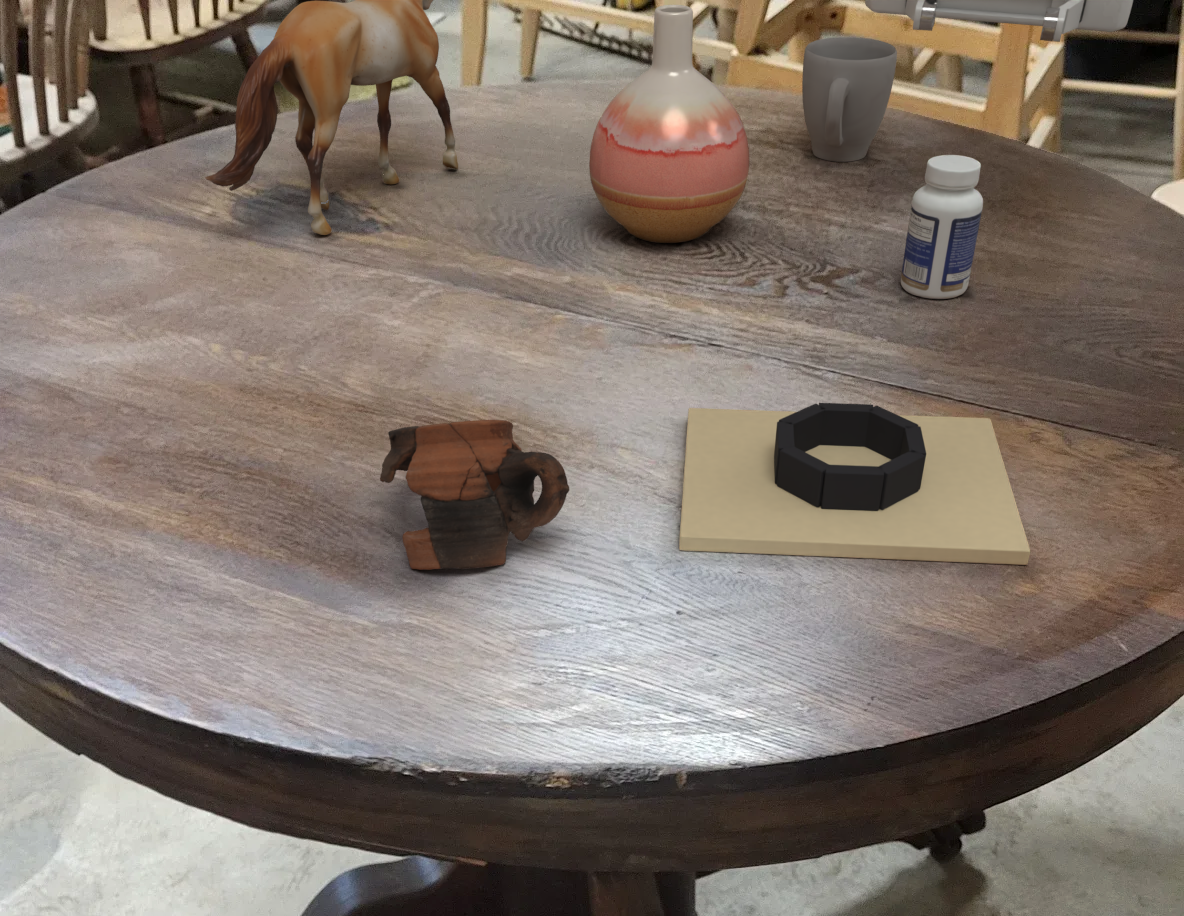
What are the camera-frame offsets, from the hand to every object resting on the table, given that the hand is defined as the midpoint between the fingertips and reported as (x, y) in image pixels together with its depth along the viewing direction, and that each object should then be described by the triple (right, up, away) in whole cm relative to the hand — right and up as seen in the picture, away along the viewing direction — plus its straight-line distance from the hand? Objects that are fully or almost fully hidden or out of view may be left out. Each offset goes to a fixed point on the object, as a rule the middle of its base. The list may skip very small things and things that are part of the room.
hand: (986, 25), depth 97 cm
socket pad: (-14, -37, -16) cm, 43 cm away
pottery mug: (-36, -41, -19) cm, 58 cm away
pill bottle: (-2, -17, +8) cm, 19 cm away
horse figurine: (-53, -3, +25) cm, 59 cm away
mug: (-5, +4, +32) cm, 33 cm away
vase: (-23, -9, +18) cm, 30 cm away
